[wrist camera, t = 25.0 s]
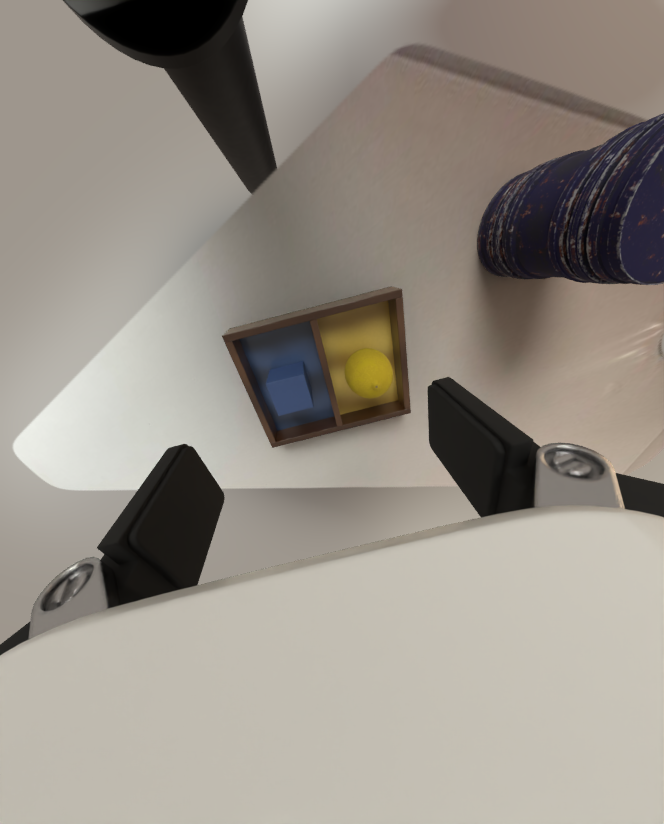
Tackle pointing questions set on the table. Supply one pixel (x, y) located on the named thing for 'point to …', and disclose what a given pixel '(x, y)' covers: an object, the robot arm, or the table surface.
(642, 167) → the storage jar
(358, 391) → the lemon
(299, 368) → the blue block
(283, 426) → the sorting tray
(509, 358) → the table surface
